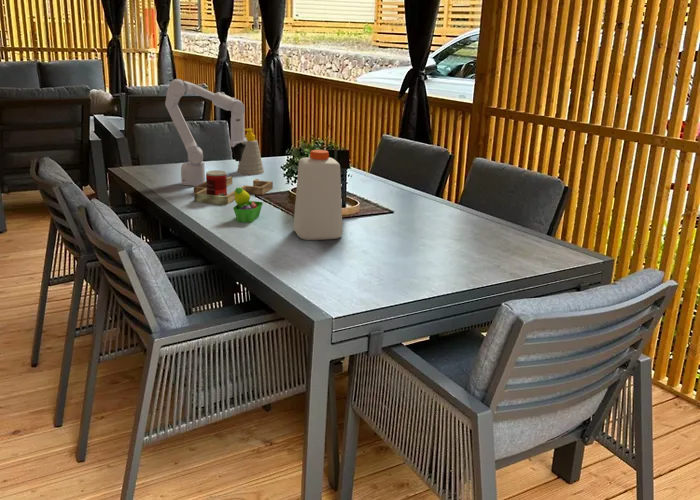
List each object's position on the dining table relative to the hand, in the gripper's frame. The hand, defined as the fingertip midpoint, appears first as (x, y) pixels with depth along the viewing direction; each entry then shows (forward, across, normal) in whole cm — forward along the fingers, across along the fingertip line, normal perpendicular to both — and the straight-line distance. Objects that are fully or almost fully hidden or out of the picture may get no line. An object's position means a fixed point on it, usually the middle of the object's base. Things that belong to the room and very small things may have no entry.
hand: (238, 161), depth 285 cm
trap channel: (+10, -18, -4) cm, 21 cm away
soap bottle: (+10, +24, +4) cm, 26 cm away
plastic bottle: (+10, -59, -53) cm, 80 cm away
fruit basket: (+10, -50, -24) cm, 56 cm away
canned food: (+10, -30, -3) cm, 31 cm away
